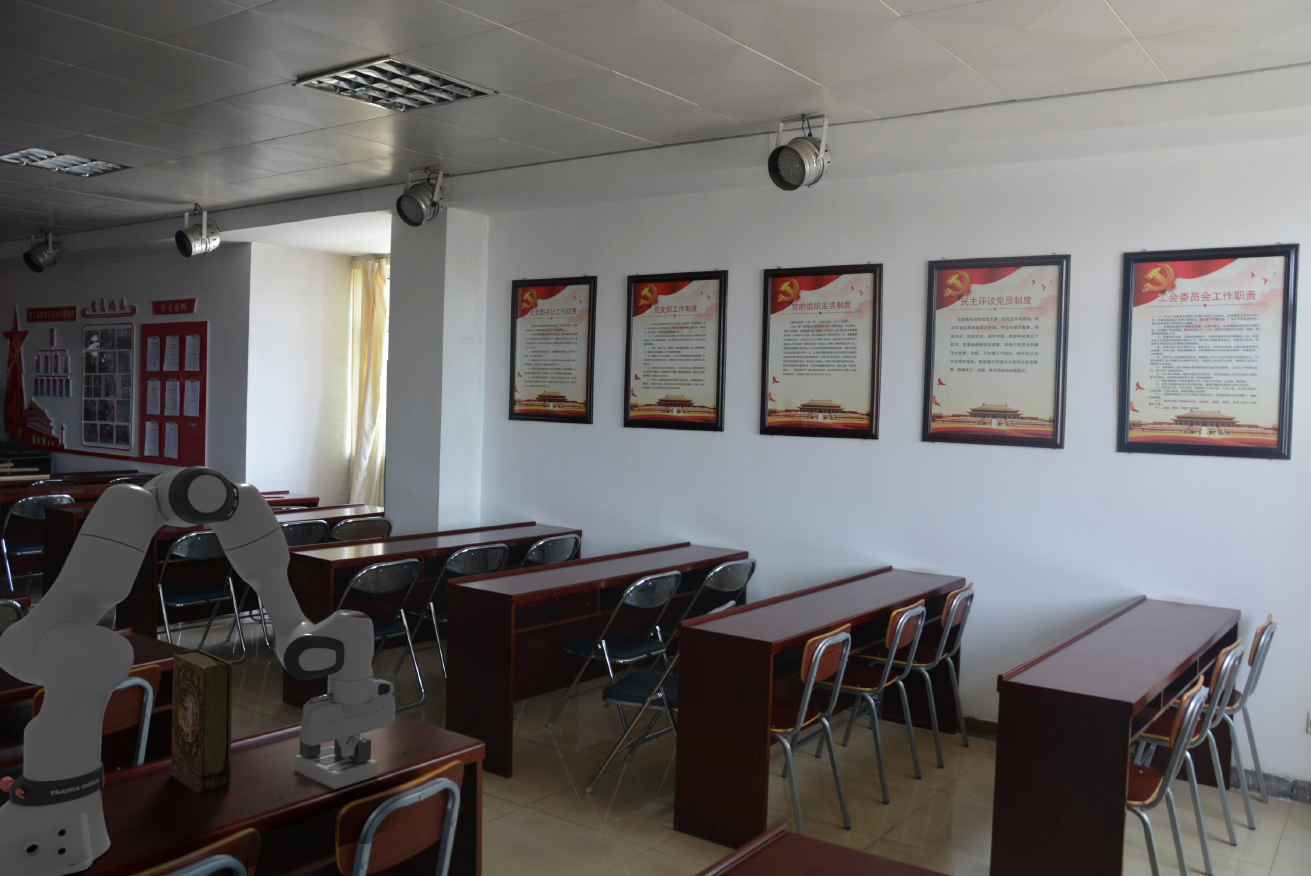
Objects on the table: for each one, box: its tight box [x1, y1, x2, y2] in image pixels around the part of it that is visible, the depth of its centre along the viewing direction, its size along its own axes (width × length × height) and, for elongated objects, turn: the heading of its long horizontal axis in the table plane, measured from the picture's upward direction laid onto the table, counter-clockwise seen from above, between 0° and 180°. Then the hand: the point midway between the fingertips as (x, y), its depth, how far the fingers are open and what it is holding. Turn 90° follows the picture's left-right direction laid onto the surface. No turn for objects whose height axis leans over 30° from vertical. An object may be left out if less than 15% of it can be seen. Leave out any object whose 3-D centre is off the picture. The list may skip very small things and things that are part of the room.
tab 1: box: [298, 738, 322, 758], centre depth 199 cm, size 3×3×4 cm
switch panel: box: [293, 744, 379, 790], centre depth 198 cm, size 10×15×3 cm, turn 51°
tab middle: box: [333, 738, 350, 758], centre depth 200 cm, size 3×3×4 cm
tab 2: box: [350, 736, 372, 763], centre depth 197 cm, size 3×3×4 cm
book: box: [170, 649, 233, 795], centre depth 192 cm, size 16×6×25 cm, turn 48°
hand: (347, 756), depth 195 cm, fingers closed
